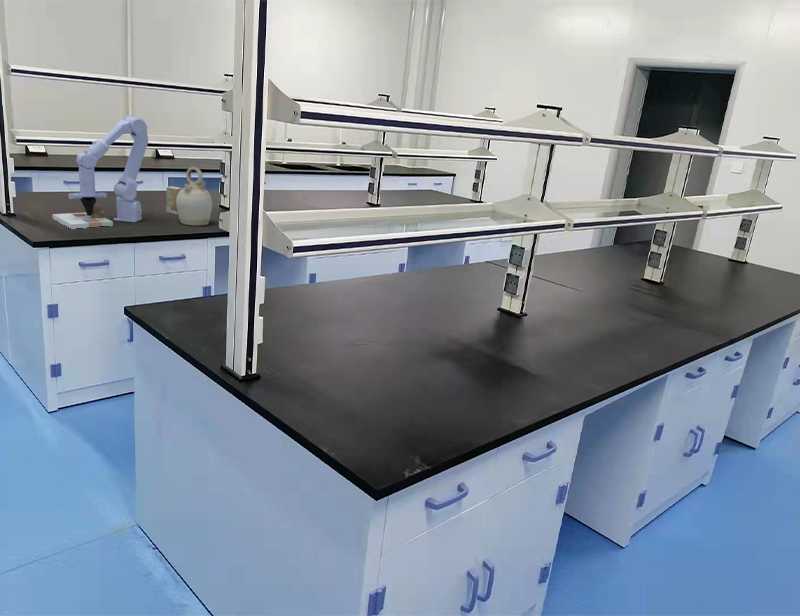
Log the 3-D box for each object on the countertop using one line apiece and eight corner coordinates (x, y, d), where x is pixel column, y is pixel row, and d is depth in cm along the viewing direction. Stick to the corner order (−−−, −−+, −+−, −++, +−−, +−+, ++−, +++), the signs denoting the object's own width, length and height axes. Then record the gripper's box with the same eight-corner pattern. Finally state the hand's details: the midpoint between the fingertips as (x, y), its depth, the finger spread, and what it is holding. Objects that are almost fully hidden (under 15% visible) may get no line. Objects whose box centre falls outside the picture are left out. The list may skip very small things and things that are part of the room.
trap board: (93, 216, 275) (93, 211, 275) (113, 226, 263) (112, 221, 262) (52, 218, 264) (52, 214, 263) (71, 229, 251) (70, 224, 250)
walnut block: (100, 215, 269) (100, 206, 268) (103, 217, 267) (103, 208, 266) (90, 216, 266) (90, 206, 265) (94, 218, 264) (94, 208, 263)
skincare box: (165, 212, 297) (165, 186, 293) (171, 211, 301) (171, 185, 297) (177, 214, 296) (177, 188, 292) (183, 213, 300) (183, 187, 296)
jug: (197, 217, 294) (197, 163, 286) (219, 224, 286) (219, 168, 278) (169, 221, 282) (168, 164, 274) (191, 228, 274) (190, 170, 266)
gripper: (72, 184, 252) (74, 218, 256) (109, 183, 262) (110, 216, 267) (65, 181, 257) (67, 214, 261) (102, 181, 267) (103, 212, 271)
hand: (89, 215), depth 264 cm, fingers closed
